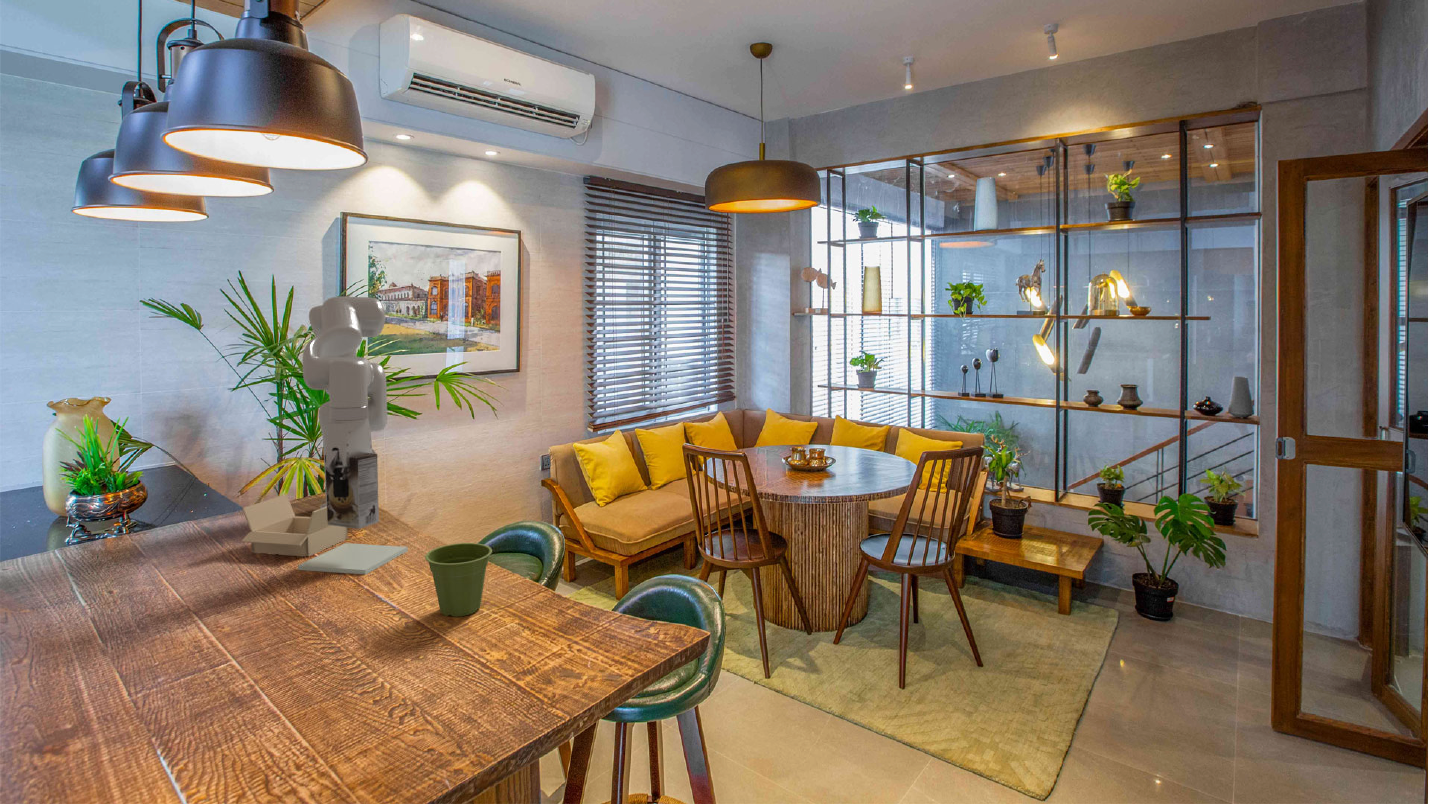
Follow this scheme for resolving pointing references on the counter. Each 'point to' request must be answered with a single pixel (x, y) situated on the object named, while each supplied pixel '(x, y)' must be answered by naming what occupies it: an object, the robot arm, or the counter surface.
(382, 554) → the tile
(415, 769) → the counter surface
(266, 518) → the carton
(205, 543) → the counter surface
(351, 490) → the coffee box
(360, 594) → the counter surface
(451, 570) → the plant pot
